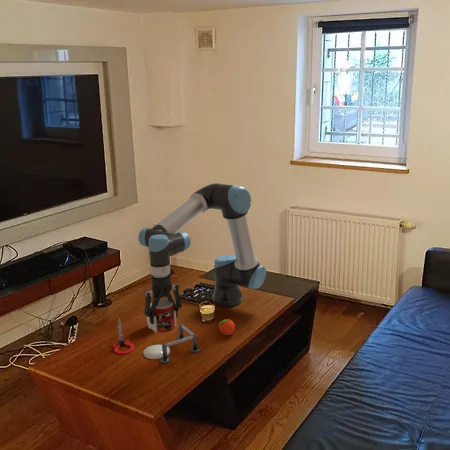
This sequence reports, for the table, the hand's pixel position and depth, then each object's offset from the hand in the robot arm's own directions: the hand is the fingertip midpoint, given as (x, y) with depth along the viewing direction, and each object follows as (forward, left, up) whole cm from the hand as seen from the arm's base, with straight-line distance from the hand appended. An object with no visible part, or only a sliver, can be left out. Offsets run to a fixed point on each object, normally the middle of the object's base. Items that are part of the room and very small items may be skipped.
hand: (164, 327), depth 219 cm
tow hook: (+11, -19, -15) cm, 26 cm away
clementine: (-31, -4, -15) cm, 35 cm away
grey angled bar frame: (-6, -6, -15) cm, 17 cm away
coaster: (+1, -8, -15) cm, 17 cm away
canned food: (0, 0, 0) cm, 0 cm away
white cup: (-9, -30, -15) cm, 35 cm away
